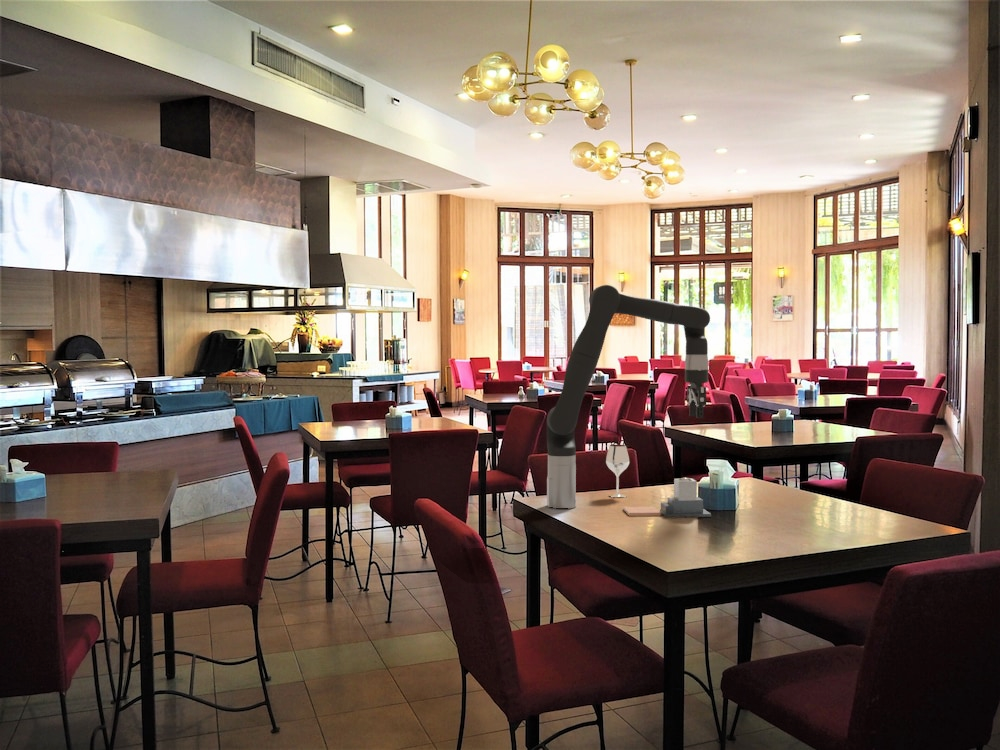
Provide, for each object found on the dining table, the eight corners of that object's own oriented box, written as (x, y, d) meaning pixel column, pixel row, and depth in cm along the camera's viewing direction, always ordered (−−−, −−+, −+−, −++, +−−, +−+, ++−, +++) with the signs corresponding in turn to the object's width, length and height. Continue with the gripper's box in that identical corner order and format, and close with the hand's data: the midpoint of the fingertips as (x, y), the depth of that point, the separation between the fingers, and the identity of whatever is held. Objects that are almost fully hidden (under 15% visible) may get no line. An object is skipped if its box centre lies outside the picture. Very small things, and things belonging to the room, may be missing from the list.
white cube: (678, 500, 264) (678, 481, 264) (674, 497, 270) (674, 478, 269) (696, 500, 264) (696, 481, 264) (691, 497, 270) (691, 478, 270)
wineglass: (630, 498, 296) (630, 446, 295) (607, 498, 296) (607, 446, 296) (627, 494, 304) (627, 444, 304) (604, 494, 304) (604, 444, 304)
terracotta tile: (628, 516, 265) (629, 512, 265) (622, 509, 275) (622, 506, 275) (660, 515, 266) (660, 512, 266) (653, 509, 276) (653, 506, 276)
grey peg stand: (666, 517, 263) (666, 480, 262) (660, 512, 271) (660, 476, 270) (711, 516, 263) (711, 479, 263) (703, 511, 271) (703, 476, 271)
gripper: (679, 367, 289) (679, 415, 289) (691, 369, 275) (691, 419, 275) (701, 367, 289) (701, 415, 290) (714, 368, 275) (713, 418, 276)
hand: (696, 417), depth 282 cm, fingers open, 8 cm apart
